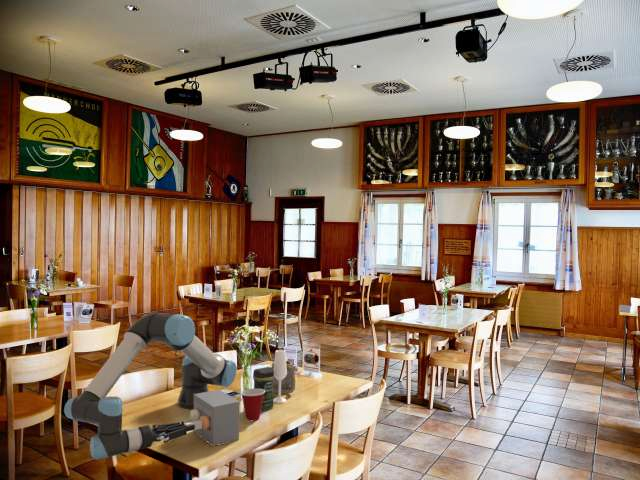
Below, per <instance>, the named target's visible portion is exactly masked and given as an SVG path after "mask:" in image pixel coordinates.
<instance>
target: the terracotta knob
mask: <svg viewBox="0 0 640 480" xmlns="http://www.w3.org/2000/svg"><path fill="white" fill-rule="evenodd" d="M199 420H201V421H202V428H201V430H202V431H204V430H208V429H210V426H211V418H210V417H209V416H208V415H205V416H201V417H200V418H199Z"/></svg>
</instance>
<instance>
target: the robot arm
mask: <svg viewBox="0 0 640 480" xmlns="http://www.w3.org/2000/svg"><path fill="white" fill-rule="evenodd" d="M195 334H196V327H195V322H194V321H193V319H192V318H191V317H190V316H187V315H184V314H179V313H178V314H175V313H163V312H151V313H148V314H145V315H143V316H141V317H140V318H139V319H137V320H136V321H135V322H134V323H132V324H131V326H130V327H128V329H127V330H126V332H125V333H124V334H123V337H124V338H123V339H122V341H121V342H120V344H119V345H118V346H117V347H116V348H115V350H114V351H113V353H112V354H111V355H110V356H109V358H108V359H107V360H106V362H105V363H104V364H103V365H102V367H100V370H99V371H97V373H96V374H95V376H94V377H93V378H92V380H91V381H90V382H89V384H88V385H87V386H86V387H85V388H84V390H82V391H83V392H82V393H81V394H79V396H73V397H71V398H69V399H68V400H67V402H66V403H65V404H64V409H63V412H64V415H65V416H66V418H68V419H69V420H70V419H71V420H73V421H76V422H83V423H88V424H90V425H91V424H92V425H95V426H97V435H94V436H92V437H91V438H90V442H89V450H90V451H89V452H90V456H91V457H92V459H93V460H101V459H106V458H107V459H108V458H111V457H114V456H117V455H118V456H119V455H122V454H126V453H129V454H131V453H132V452H135V451H139V450H143V449H144V450H145V449H147V448H148V449H149V448H151V447H152V445H153V443H154V442H161V441H163V443H164V444H167V443H168V442H170V441H173V440H176V439H178V438H182V437H184V436H186V435H187V434H188V432H194V431H193V430H197V429H201V428H202V421H201V420H198V421H194V422H191V421H190V422H186V423H185V421H181V422H179V421H178V422H170V423H163V424H162V423H161V424H152V427H151V426H150V425H148V424H147V425H146V424H145V425H142V426H138V427H132V428H131V427H130V428H128V429H124V430H123V423H122V422H123V410H124V409H123V400H122V398H121V397H119V396H108V394H109V393H110V392H111V390H112V389H113V387H114V386H115V384H117V382H118V381H119V380H120V378H121V377H122V376H123V374H124V373H125V372H126V370H127V368H128V367H129V366H130V364H131V363H132V362H133V360H134V359H135V358H136V356H137V355H138V354H139V352H140V351H141V350H144V349H145V348H146V347H147V346H148V344H150V343H153V342H154V343H159V344H160V343H161V344H165V345H167V346H168V347H169V348H170V349H171V350H172V351H175V352H181V353H182V354H183V355H184V357H183V358H182V364H181V389H180V392H179V396H178V398H177V406H178V407H179V408H180V409H181V408H182V409H186V410H187V409H188V410H194V394H198V393H203V392H208V391H209V387H208V385H213V386H217V387H222V388H223V387H224V388H228V387H230V386H231V385H233V383H234V381H235V379H236V377H237V371H238V370H237V368H238V367H237V364H236V362H235V361H233V360H228V359H226V358H224V357H223V356H222V355H221V353H214V352H213V350H211V348H209V347H208V346H207V344H205V343H204V342H203V341H202V340H201V339H200V338H199V337H198V336H196V335H195Z"/></svg>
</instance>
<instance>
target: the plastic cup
mask: <svg viewBox="0 0 640 480" xmlns="http://www.w3.org/2000/svg"><path fill="white" fill-rule="evenodd" d="M264 393H265V390H263V389H254V388H248V389H243V390H242V391H240V396H241V399H242V402H243V403H242V404H243V408H244V415H245V419H246V421H251V422H252V421H253V422H254V421H258V420H260V416H261V412H262V411H261V408H262V402H263V397H264Z"/></svg>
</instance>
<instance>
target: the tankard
mask: <svg viewBox="0 0 640 480" xmlns="http://www.w3.org/2000/svg"><path fill="white" fill-rule="evenodd" d="M286 367H287V375H286V377H285V378H284V379H283V380H281V395H282V394H289V393H293V392H294V391H295V390H296V376H295V375H296V374H295V373H296V372H298V371H299V368H298V367H297V365H294V362H293V361H291V360H286ZM271 368H273V370H274V361H273V362H272V363H271ZM278 392H279V380H277V379H276V378H275V377H274V379H273V394H278Z"/></svg>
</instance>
